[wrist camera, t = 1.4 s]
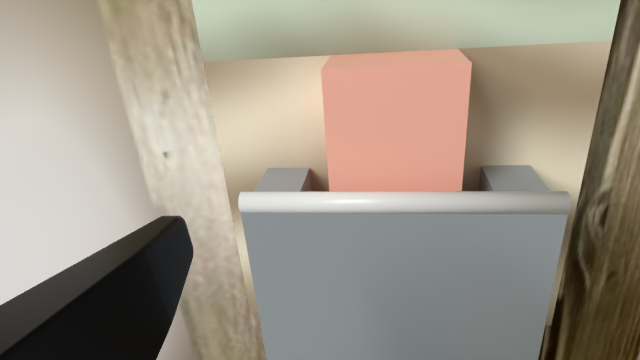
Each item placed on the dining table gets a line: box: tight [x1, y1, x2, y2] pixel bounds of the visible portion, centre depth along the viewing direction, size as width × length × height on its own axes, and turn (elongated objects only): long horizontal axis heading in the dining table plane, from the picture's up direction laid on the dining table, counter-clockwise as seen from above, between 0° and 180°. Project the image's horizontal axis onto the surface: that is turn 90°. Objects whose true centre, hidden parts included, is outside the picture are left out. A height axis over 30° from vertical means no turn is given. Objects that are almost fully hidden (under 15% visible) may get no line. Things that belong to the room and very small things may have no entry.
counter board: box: [192, 0, 621, 326], centre depth 18 cm, size 24×16×1 cm, turn 4°
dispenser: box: [238, 165, 571, 360], centre depth 19 cm, size 9×12×4 cm
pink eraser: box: [321, 49, 472, 192], centre depth 18 cm, size 10×5×3 cm, turn 4°
